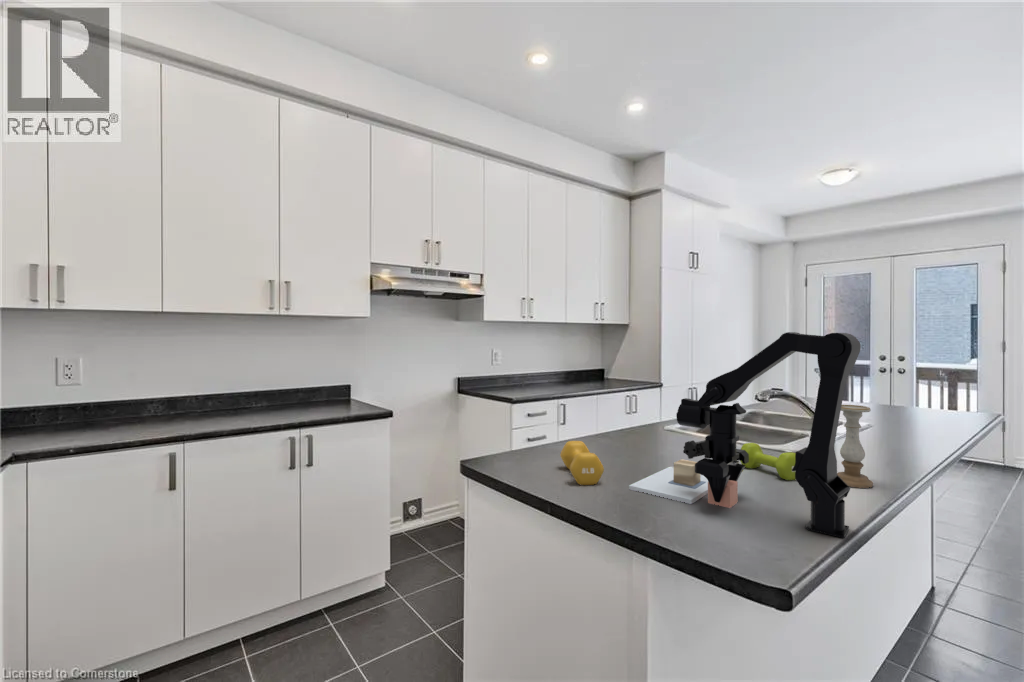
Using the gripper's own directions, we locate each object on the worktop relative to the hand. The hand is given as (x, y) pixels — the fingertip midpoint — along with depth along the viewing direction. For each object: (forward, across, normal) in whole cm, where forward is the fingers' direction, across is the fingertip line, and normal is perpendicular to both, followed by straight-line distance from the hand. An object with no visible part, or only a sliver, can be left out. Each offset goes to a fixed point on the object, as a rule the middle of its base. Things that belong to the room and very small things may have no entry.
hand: (722, 498), depth 112 cm
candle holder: (+1, -38, +20) cm, 43 cm away
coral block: (+1, 0, 0) cm, 1 cm away
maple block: (0, -6, -11) cm, 13 cm away
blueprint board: (+1, -6, -13) cm, 14 cm away
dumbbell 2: (+1, -34, +1) cm, 34 cm away
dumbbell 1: (+1, +4, -37) cm, 37 cm away
